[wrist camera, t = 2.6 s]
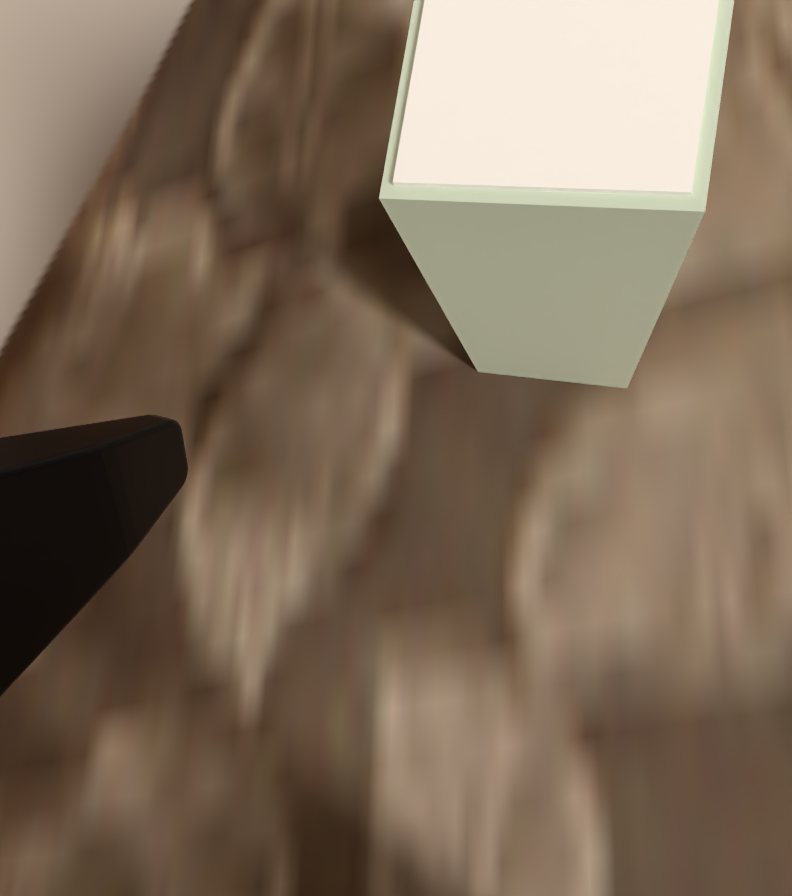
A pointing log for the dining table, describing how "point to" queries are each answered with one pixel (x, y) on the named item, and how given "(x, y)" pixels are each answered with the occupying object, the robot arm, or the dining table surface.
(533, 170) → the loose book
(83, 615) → the dining table surface
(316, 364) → the dining table surface
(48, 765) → the dining table surface
